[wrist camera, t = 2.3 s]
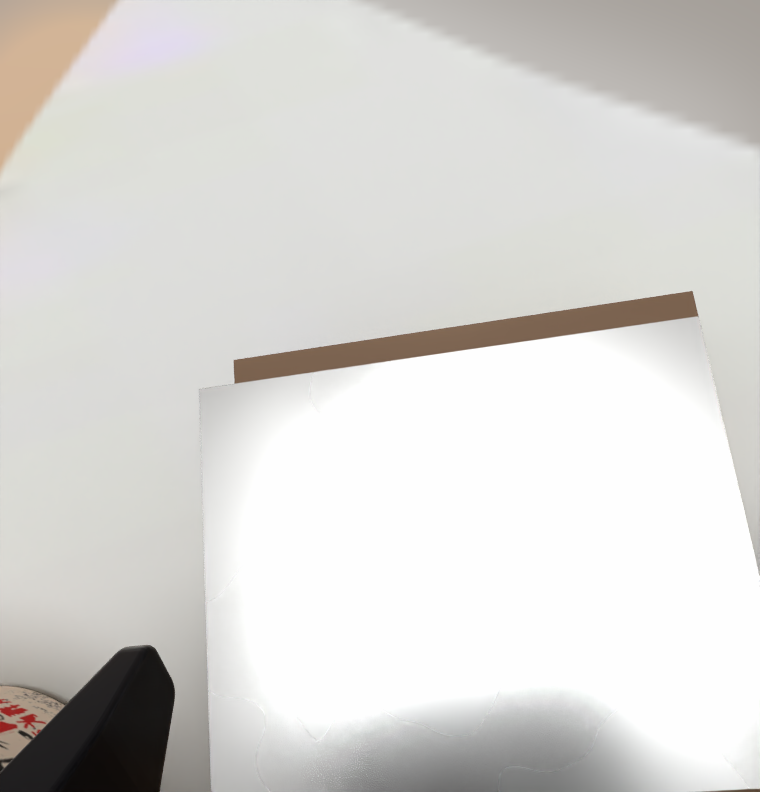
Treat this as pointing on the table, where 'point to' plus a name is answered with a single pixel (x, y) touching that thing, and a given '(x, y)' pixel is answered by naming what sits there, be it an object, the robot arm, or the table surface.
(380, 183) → the table surface
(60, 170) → the table surface
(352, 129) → the table surface
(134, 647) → the robot arm
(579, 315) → the brown wooden rectangular frame
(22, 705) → the teacup with lid
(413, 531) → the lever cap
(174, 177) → the table surface
